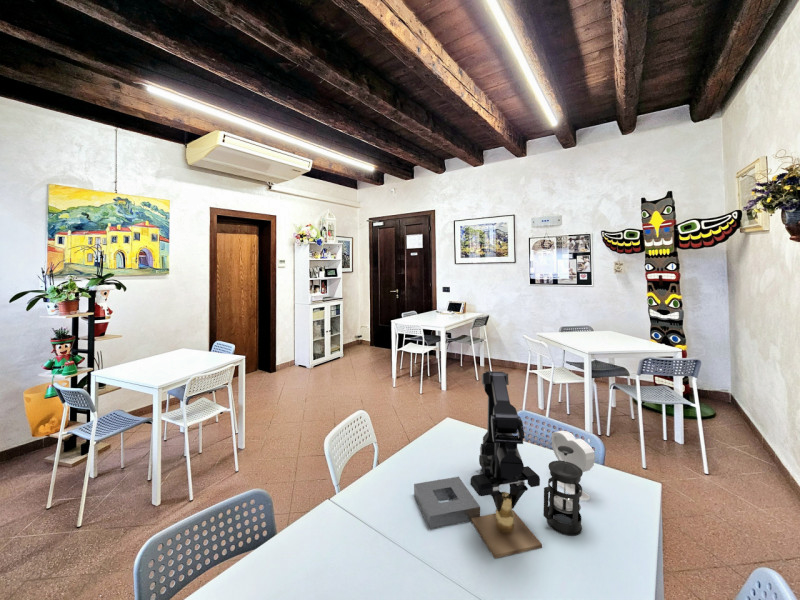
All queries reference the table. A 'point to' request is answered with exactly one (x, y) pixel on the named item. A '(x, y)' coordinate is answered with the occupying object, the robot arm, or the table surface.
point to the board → (505, 536)
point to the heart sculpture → (573, 455)
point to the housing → (449, 511)
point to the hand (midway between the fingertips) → (504, 509)
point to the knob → (505, 514)
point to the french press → (563, 495)
